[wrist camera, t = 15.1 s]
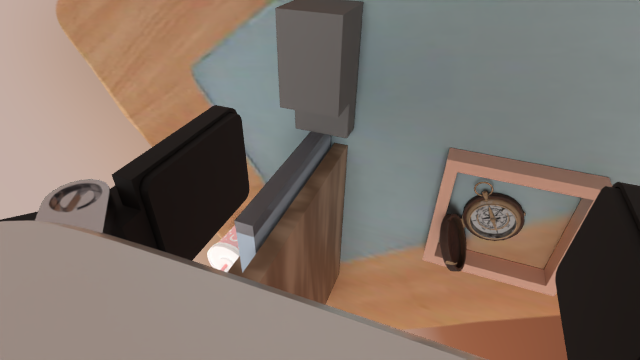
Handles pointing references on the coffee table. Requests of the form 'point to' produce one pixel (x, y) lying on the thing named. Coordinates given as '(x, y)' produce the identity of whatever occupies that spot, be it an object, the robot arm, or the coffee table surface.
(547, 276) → the square frame
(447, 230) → the compass
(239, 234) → the sliding door
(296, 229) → the door wall
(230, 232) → the beverage cup
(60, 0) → the coffee table surface
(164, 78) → the coffee table surface
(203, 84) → the coffee table surface
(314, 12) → the grey stepped block
